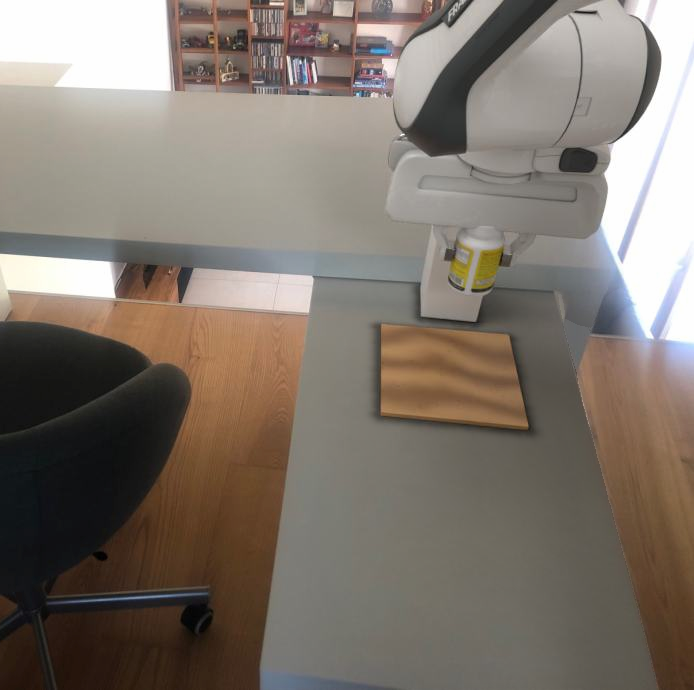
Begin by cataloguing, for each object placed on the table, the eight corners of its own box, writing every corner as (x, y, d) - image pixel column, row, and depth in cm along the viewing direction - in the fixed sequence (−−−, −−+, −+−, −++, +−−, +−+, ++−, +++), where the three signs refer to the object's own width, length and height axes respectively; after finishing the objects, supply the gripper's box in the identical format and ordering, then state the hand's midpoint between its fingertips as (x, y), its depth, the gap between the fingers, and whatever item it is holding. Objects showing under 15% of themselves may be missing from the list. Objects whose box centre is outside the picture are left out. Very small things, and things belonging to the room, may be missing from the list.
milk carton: (472, 291, 96) (504, 164, 84) (476, 323, 91) (510, 193, 78) (420, 286, 97) (444, 160, 85) (420, 318, 92) (446, 188, 79)
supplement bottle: (496, 278, 76) (514, 210, 70) (488, 302, 72) (507, 232, 67) (451, 268, 77) (466, 201, 72) (442, 291, 74) (457, 222, 69)
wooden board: (527, 430, 76) (528, 426, 76) (380, 415, 79) (381, 411, 78) (507, 337, 88) (509, 334, 88) (380, 327, 91) (381, 323, 90)
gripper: (390, 141, 63) (373, 267, 72) (631, 159, 60) (582, 289, 69) (393, 114, 68) (377, 235, 77) (617, 129, 64) (573, 254, 73)
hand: (475, 261), depth 73 cm, fingers closed on supplement bottle, 5 cm apart
